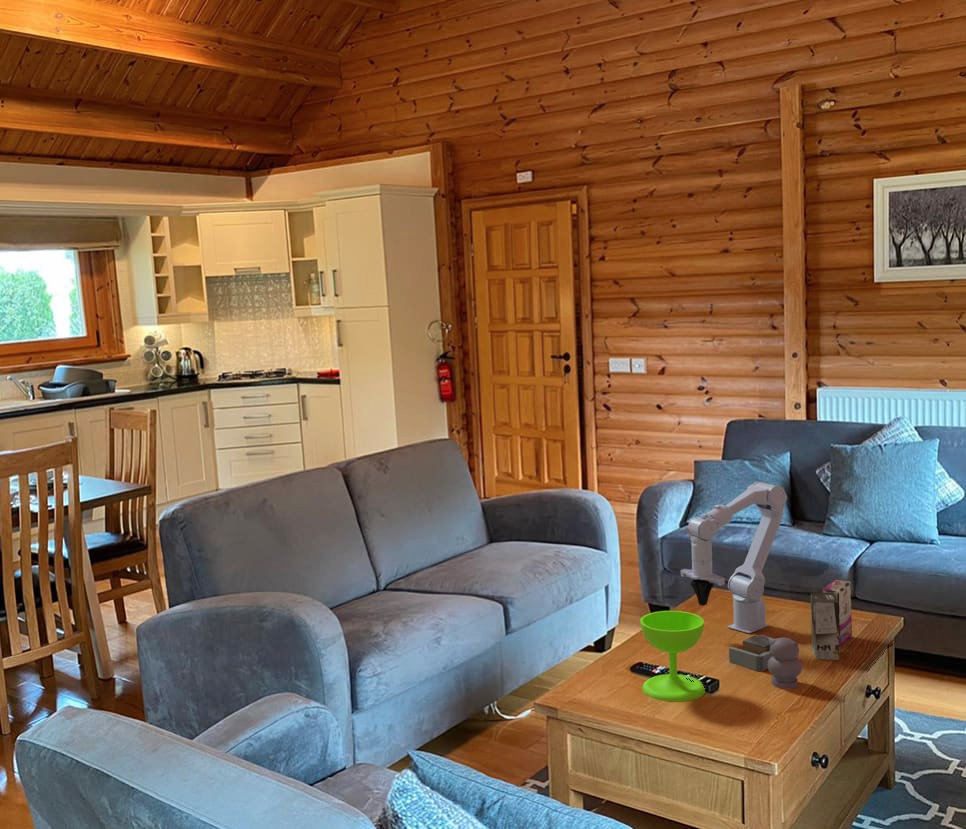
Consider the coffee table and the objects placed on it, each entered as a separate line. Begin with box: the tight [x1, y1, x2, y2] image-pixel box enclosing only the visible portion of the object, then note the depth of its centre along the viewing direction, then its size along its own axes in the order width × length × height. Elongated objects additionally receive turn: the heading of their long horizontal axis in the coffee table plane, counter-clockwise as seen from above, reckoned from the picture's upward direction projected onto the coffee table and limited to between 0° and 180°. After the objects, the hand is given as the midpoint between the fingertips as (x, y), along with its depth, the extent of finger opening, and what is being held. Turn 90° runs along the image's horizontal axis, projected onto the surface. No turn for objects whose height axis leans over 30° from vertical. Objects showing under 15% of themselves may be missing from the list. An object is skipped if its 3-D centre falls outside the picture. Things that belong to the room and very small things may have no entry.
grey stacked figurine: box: [767, 637, 803, 690], centre depth 247 cm, size 8×8×12 cm
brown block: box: [742, 635, 771, 655], centre depth 264 cm, size 6×7×5 cm
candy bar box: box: [821, 579, 853, 649], centre depth 274 cm, size 11×5×16 cm, turn 143°
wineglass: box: [639, 610, 706, 703], centre depth 247 cm, size 16×16×18 cm
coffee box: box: [810, 592, 840, 661], centre depth 265 cm, size 9×6×16 cm
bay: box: [728, 634, 776, 672], centre depth 264 cm, size 14×10×4 cm
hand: (703, 604), depth 282 cm, fingers closed
